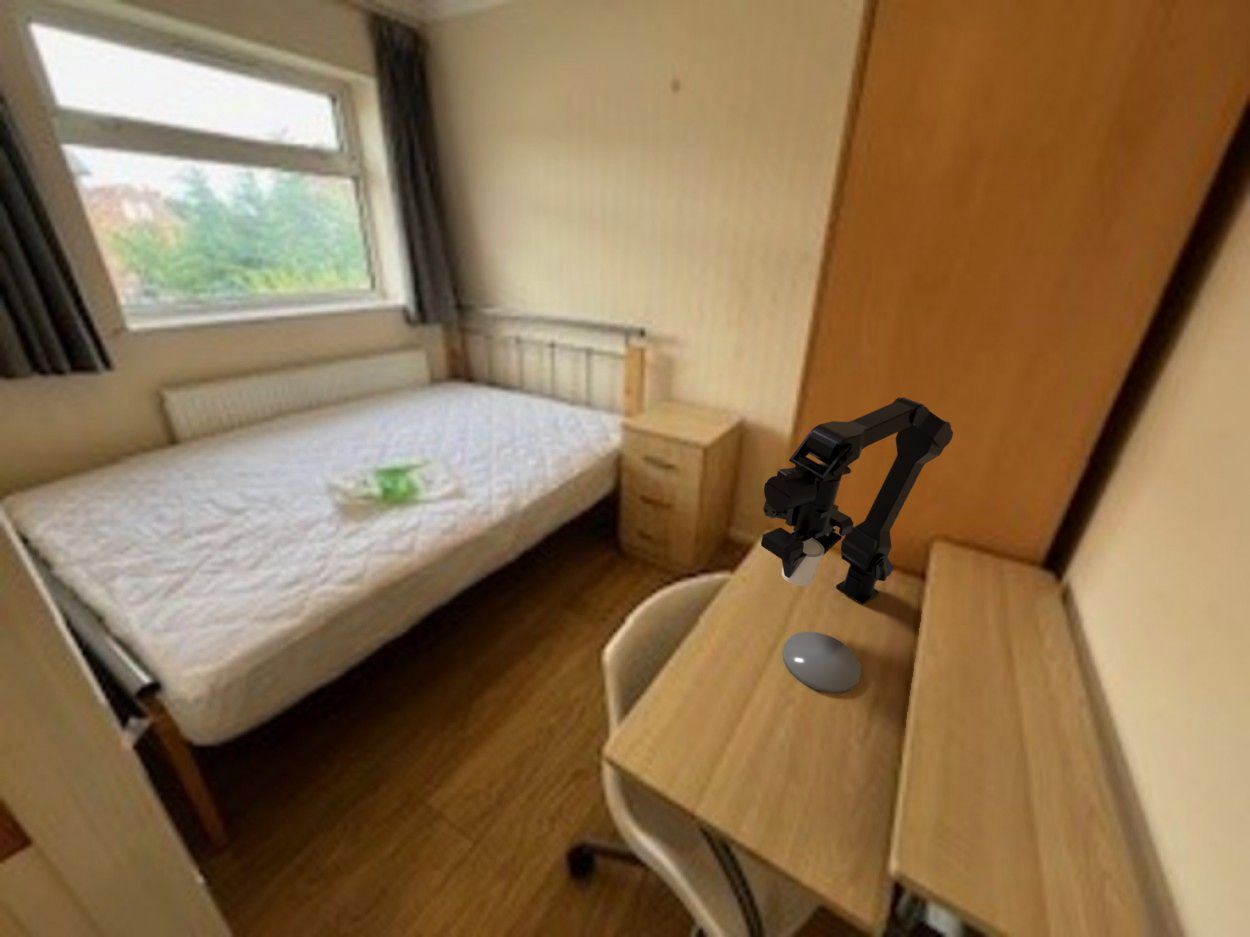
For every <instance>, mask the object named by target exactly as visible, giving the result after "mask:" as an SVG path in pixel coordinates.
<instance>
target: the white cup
mask: <svg viewBox="0 0 1250 937" xmlns="http://www.w3.org/2000/svg"><path fill="white" fill-rule="evenodd" d="M803 552H804V553H805V554H807V555H806V557H805V558H804V560H803V561H802V562H801V564H800V565H799V566H798V568H797V569H796V571H795V572H794V573H793V575H792V576H791V577H790V578H788V577H786V576H785V575H784V570H783V566H782V568H781V577H782V578H783V579H784V580H785V581H786V583H789V584H791V585H793V586H797V587H807V586H810V585H811V584H812V583H813V581H814V579H815V577H816V574H817V571H818V569H819V567H820V565H821V561H822V559H823V557H824V555H825V554H824V547H823V546H822V544H821V543H819V542H818V541H817V540H815V539H811V540H809V541H807V542H805V543H804V549H803ZM823 554H824V555H823Z"/></svg>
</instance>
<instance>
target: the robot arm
mask: <svg viewBox="0 0 1250 937" xmlns="http://www.w3.org/2000/svg"><path fill="white" fill-rule="evenodd" d="M894 434H896V436H895V437H894V438H895V448H896V457H895V459H894V461H893V463H892V464H891V466H890V469H889V471H888V473H887V475H886V477H885V479H884V480H883V482H882V485H881V486H880V489H879V491H878V493H877V494H876V496H875V499H874V501H873V502H872V505H871V507H870V509H869V511H868V513H867V514H866V516H865V519H864V520H863V521H862V522H860V523H859V524H857V525H855V524H854V521H853V519H852V518H851V516H849V515H847V514H845V513H843V512H842V511H840V510H839V505H836V503H835V502H836V499H837V495H838V493H839V492H838V491H839V489H840V485H841V481H842V477H843V476H845V475H849V474H851V473H852V469H851V468H850V467H849V466H850V465H851V464H852V463H854V462H855V461H857V460H858V459H859V458H860V456H861V453H863V452H862V451H863V450H864V449H865V448H867V447H869V446H871V445H873V444H875V443H877V442H879V441H882V440H884V439H886V438H888V437H890V436H892V435H894ZM953 436H954V431H953V429H952V425H951V423H950V422H949V421H947V420H944V419H942V418H940V417H939V416H937V415H936V414H934V413H933V412H932V411H930V409H929V408H928V407H927V406H925V404H923V403H920V402H918V401H915V400H912V399H910V398H907V397H897V398H895V400H894V401H893V402H892V403H889V404H887V405H884V406H882V407H881V408H878V409H876V410H873V411H871V412H869V413H866V414H864V415H862V416H860V417H857V418H855V419H852V420H848V421H838V420H837V421H836V420H834V421H828V422H824V423H820V424H818V425H816V426H814V427H813V428H812V429H811V431H809V432H808V434H807V435H806V436H805V437H804V439H803V440H802V441H801V443H800V444H799V445H798V447H797V449H796V450H795V451H794V452H793V454H792V455H791V456H790V458H789V463H791V464H793V465H794V466H793V467H788V468H781V469H778V470H777V472H776V475H773V476H771V477H770V478H768V479H767V480H766V482H765V483H764V489H763V494H764V499H765V501H764V503H763V504H764V505H763V508H762V509H763V513H764V516H765V517H769V518H770V519H780V520H785V522H784V524H786V525H787V526H789V527H793V529H792V532H789V531H788V530H786V529H784V528H783V527H782V526H781V527H778V528H775V529H772V530H770V531H768V532H765V533H763V534H762V535H761V536H762V537H761V539H760V546H761V547H762V548H764V549H766V550H767V551H768V552H770V553H771V554H773V555H775V556H776V557H777V558H779V559H780V560H781V564H782V567H783V570H784V575H785V576H786V577H788V578H790V577H791V576H792V575H793V573H794V572H795V571H796V569H797V568H798V566H799V565H800V564H801V562H802V561H803V560H804V558H805V557H806V555H807V554H805V553H804V552H803V549H804V543H805V542H807V541H809V540H811V539H815V540H817V541H818V542H819V543H821V544H822V546H823V547H824V554H823V556H825V554H827V553H828V551H831V549H832V548H833V547H834V546H835V545H836V544H837V543H838V542H839V541H841V544H840V552H841V553H840V556H841V557H840V558H841V559H842V560H843V561H845V562H847V564H849V566H848V569H847V572H846V576H845V579H844V580H843V581H841V582H839V583H838V584H836V586H835V588H836V589H837V591H840V592H842V593H843V594H844V595H847V596H848V597H850V598H851V599H853V600H854V601H856V602H857V603H859V604H861V605H864V604H866V603H867V602H869V601H871V600H872V599H873V598H875V597H877V596H878V595H879V594H880V591H879V590H878V589H877V588H875V587H876V584H877V581H881V582H886V580H887V578H888V577H889V576H890V575H891V574H892V573H893V570H894V568H895V567H894V565H893V564H892V562H891V560H890V559H889V558H888V557H889V555H890V553H891V550H892V538H891V530H892V527H893V526H894V524H895V522H896V520H897V518H898V516H899V515H900V512H901V510H902V508H903V506H904V505H905V503H906V501H907V499H908V497H909V494H910V493H911V491H912V489H913V487H914V485H915V483H916V481H917V479H918V478H919V475H920V474H921V472H922V469H923V467H924V466H925V465H926V464H928V463H929V462H931V461H932V460H935V459H936V458H938V457H939V456H940V455H941V454H942V453H943V451H944V449H946V448H945V447H947V446H948V445H949V444H950V443H951V441H952V439H953ZM808 455H810V456H811V457H813V458H815V459H816V460H818V461H819V462H817V461H815V460H813V459H811V458H809V457H807V456H808ZM854 525H855V526H854ZM836 527H838V528H839V529H838V533H837V529H836ZM843 537H844V538H843Z"/></svg>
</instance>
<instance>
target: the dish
mask: <svg viewBox="0 0 1250 937" xmlns="http://www.w3.org/2000/svg"><path fill="white" fill-rule="evenodd" d="M783 646H784V647H783V651H782V660H783V662H784V665H785V668H787V670H788V671H789V673H790V674H791V675H792V676H793V677H794V678H795V679H797V681H799V682H800V683H801V682H802V683H801V684H803V685H804V686H806V687H808V686H809V688H810V687H811V688H810V689H812V688H813V690H815V691H818V692H822V693H827V694H832V693H833V695H834V694H835V693H836V694H837V693H838V694H843V693H847V692H851V691H852V690H853V689H855V688H856V687H857V684H858V683H859V682H860V679H861V675H862V666H861V662H860V660H859V659H858V656H857V655H856V654H855V653H854V651H853V650H852V649H851V648H849V647H848V646H847V645H846V644H845V643H844V642H842V641H840V640H839V639H837V638H835V637H832V636H830V635H827V634H825V633H821V632H815V631H802V632H798V633H794V634H793V635H791V636H789V638H787V639H786V641H785V643H784V645H783ZM852 688H853V689H852ZM851 689H852V690H851Z"/></svg>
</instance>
